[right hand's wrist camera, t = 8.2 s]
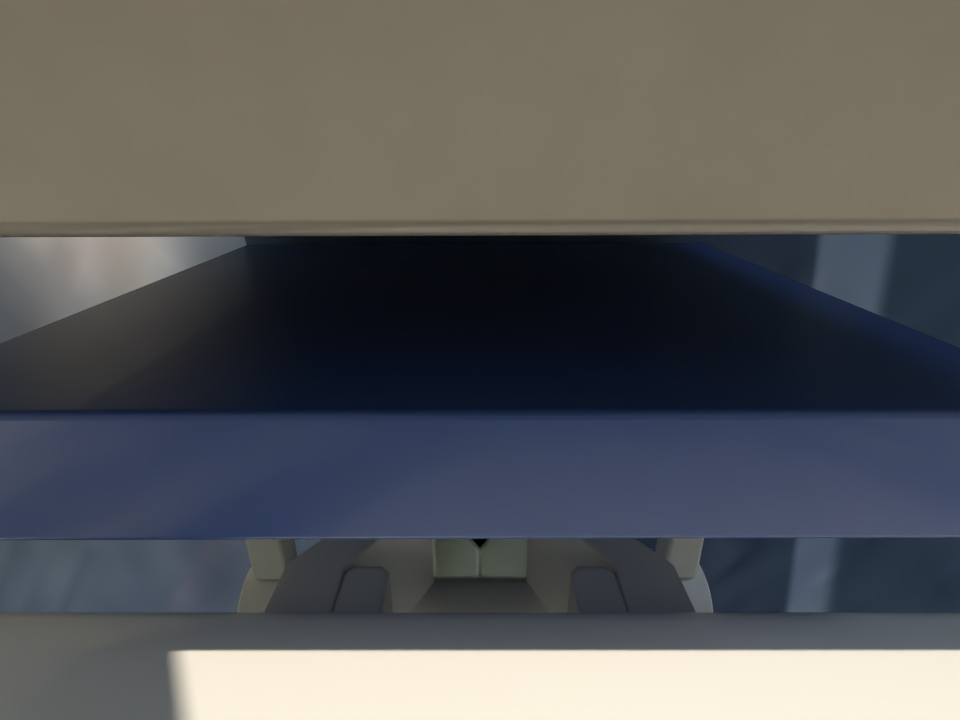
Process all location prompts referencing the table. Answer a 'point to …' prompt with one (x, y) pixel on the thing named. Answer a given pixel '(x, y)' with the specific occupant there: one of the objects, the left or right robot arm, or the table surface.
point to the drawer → (477, 408)
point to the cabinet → (478, 117)
